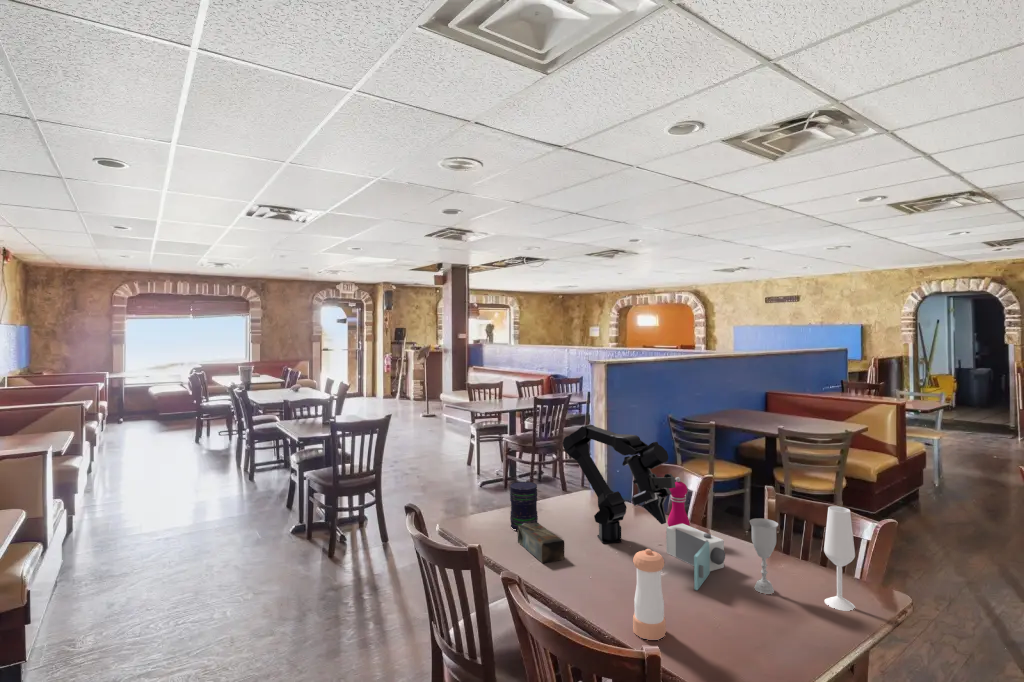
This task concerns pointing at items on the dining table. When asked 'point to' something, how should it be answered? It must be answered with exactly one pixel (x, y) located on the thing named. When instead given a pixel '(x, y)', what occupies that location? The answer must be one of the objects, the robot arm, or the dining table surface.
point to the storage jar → (523, 503)
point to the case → (693, 545)
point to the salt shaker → (649, 596)
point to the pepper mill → (678, 504)
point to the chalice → (764, 548)
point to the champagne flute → (839, 550)
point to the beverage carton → (541, 542)
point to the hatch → (701, 566)
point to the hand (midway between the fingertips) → (664, 523)
